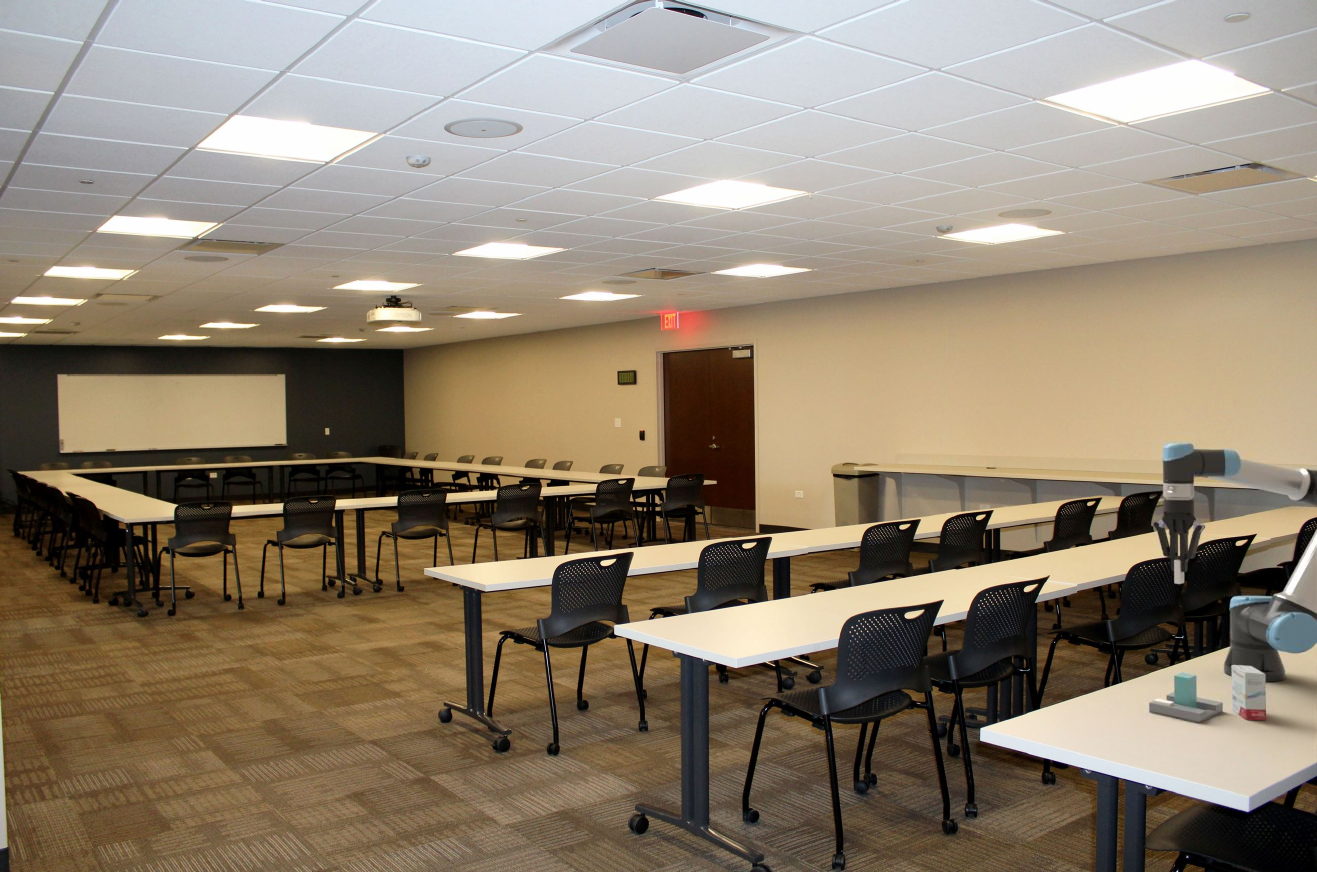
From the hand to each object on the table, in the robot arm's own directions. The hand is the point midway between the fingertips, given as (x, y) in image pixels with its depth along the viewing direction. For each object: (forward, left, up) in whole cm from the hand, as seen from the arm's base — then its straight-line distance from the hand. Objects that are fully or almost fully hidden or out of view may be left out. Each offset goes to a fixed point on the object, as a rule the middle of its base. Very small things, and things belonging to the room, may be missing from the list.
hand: (1179, 582), depth 258 cm
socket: (+21, +10, -29) cm, 37 cm away
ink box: (+12, +21, -30) cm, 38 cm away
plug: (+21, +10, -29) cm, 37 cm away
